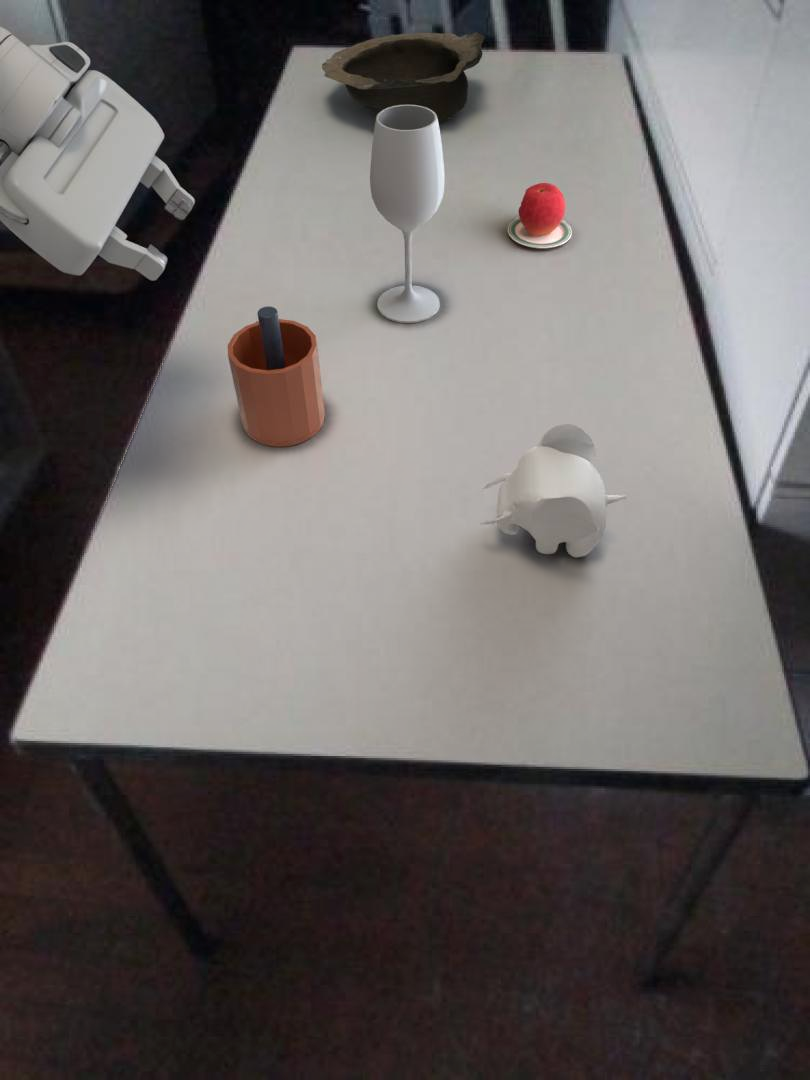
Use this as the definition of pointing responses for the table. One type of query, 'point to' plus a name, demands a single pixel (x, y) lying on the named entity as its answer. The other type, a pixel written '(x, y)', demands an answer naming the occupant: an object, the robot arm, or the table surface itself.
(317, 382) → the cup
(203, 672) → the table surface
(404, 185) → the wineglass
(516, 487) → the elephant figurine
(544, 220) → the apple
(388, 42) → the stone bowl
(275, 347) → the rod
